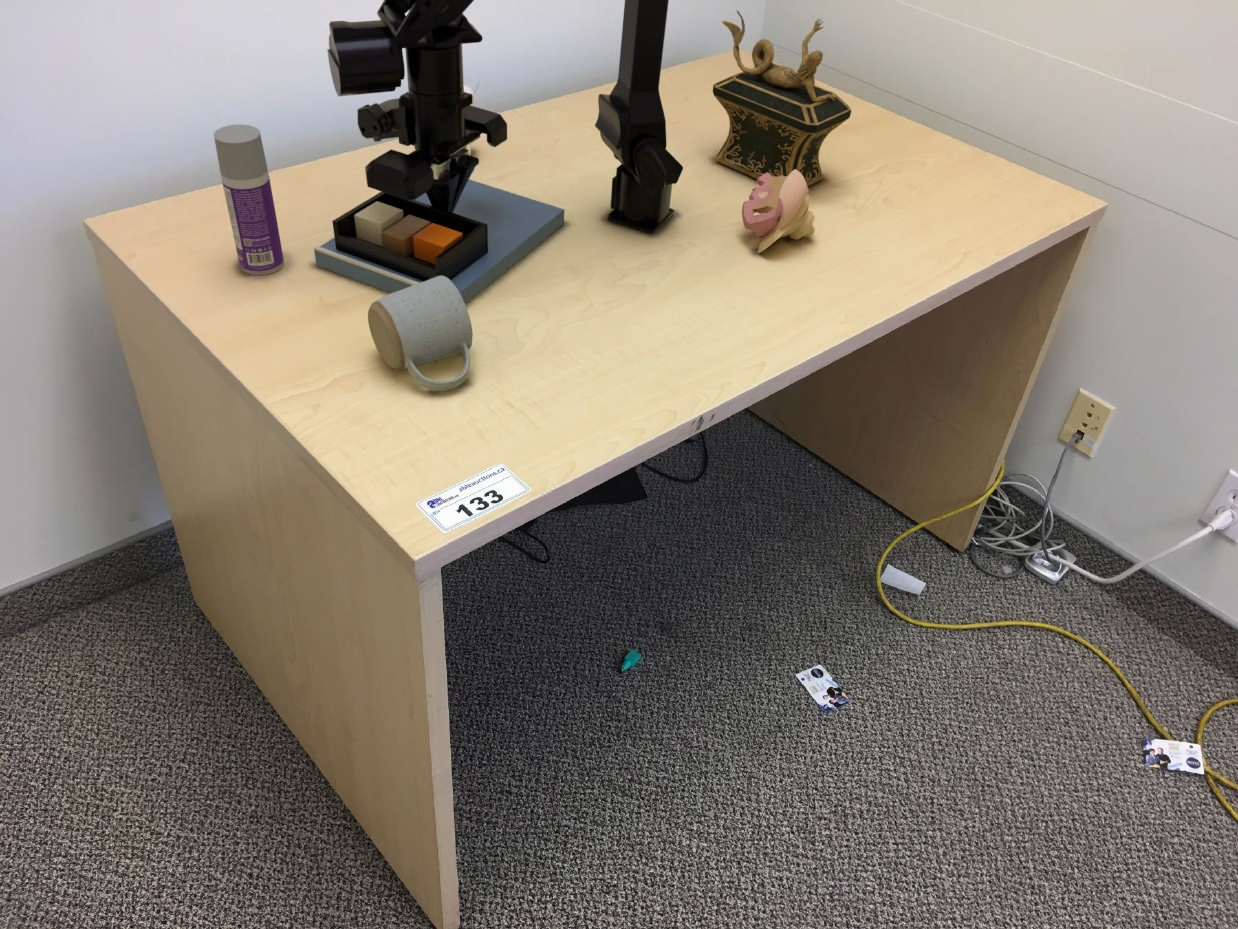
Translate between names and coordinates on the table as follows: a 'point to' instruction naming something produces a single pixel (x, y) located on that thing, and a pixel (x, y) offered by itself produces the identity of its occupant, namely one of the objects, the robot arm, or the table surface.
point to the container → (249, 198)
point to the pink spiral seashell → (779, 208)
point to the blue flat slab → (509, 239)
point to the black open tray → (411, 237)
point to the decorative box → (777, 112)
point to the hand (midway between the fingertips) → (443, 220)
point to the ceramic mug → (422, 328)
